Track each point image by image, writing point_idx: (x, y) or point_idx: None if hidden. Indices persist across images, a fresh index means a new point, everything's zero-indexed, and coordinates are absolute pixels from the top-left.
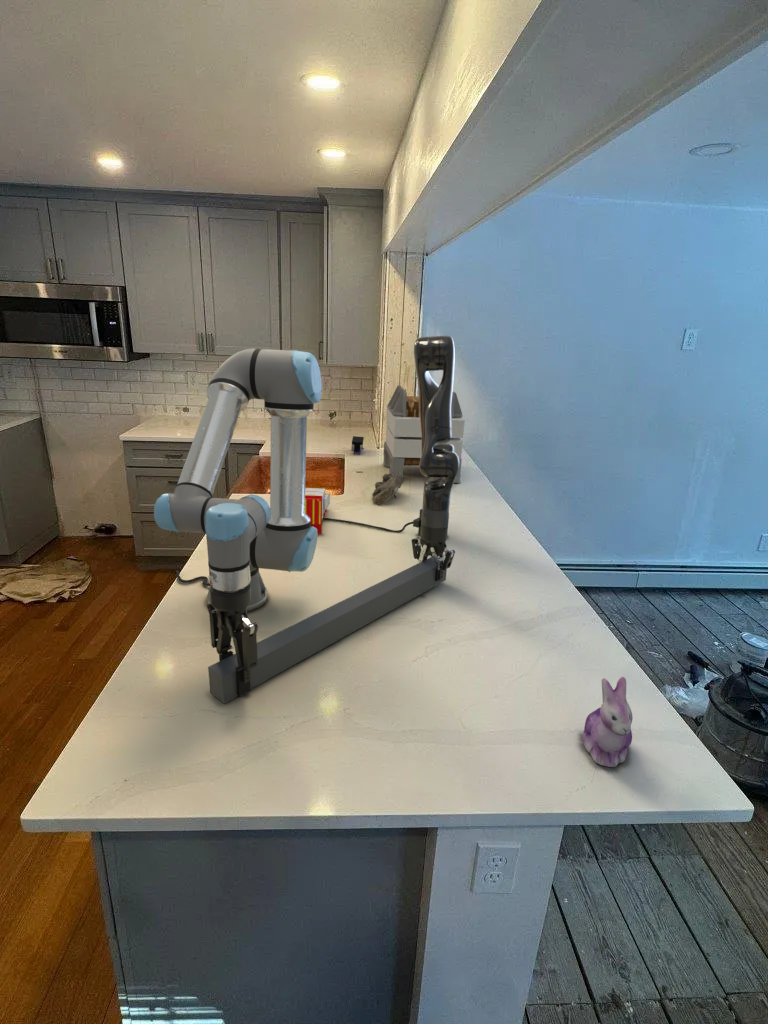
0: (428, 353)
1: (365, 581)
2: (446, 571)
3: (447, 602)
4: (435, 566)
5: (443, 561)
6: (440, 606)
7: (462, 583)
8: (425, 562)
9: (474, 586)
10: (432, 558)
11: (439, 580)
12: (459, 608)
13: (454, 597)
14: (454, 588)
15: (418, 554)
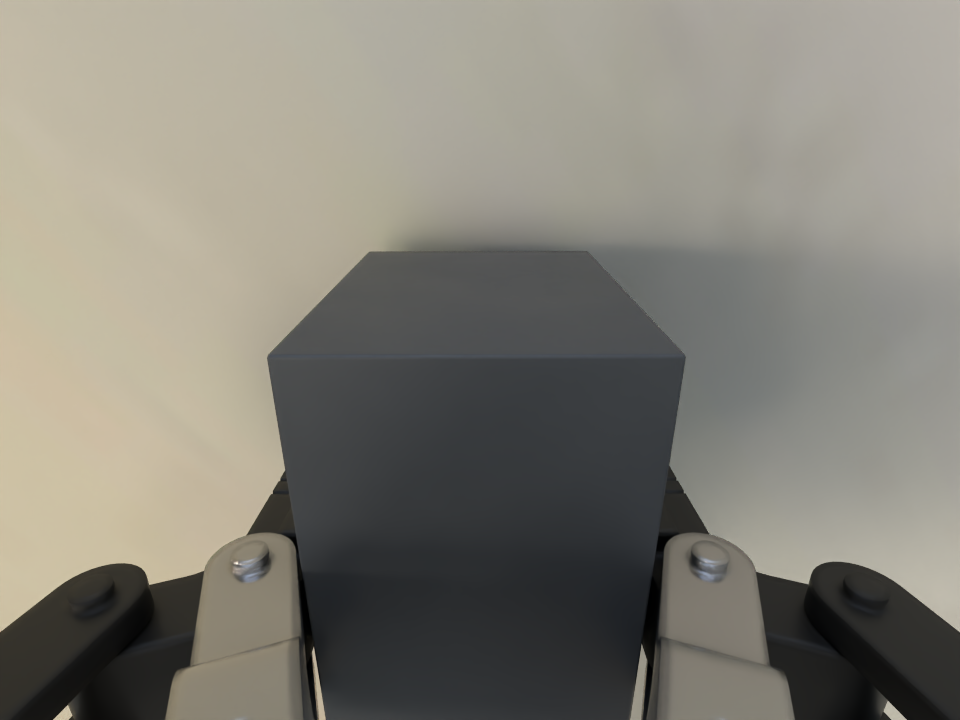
0: None
1: None
2: (617, 284)
3: (788, 536)
4: (624, 689)
5: (762, 662)
6: None
7: (746, 63)
8: (392, 687)
9: (923, 12)
10: (358, 492)
11: None
12: (924, 546)
13: (807, 425)
14: (721, 263)
15: (109, 704)
